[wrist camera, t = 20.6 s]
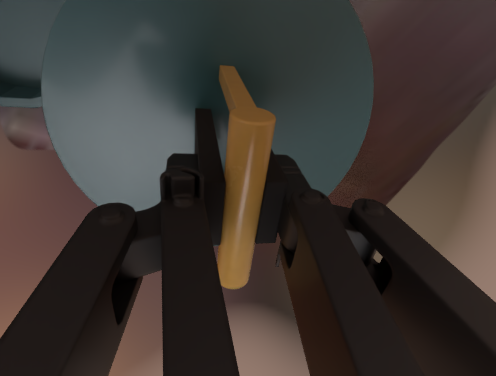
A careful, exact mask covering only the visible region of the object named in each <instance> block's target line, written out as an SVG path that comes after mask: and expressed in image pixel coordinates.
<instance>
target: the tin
mask: <svg viewBox="0 0 496 376" xmlns="http://www.w3.org/2000/svg"><path fill="white" fill-rule="evenodd" d="M64 1H65V0H0V106H5V107H24V108H38V107H42V101H41V71H42V62H43V54H44V50H45V47H46V43H47V40H48V36H49V32H50V29H51V27H52V25H53V23H54V21H55V19H56V16H57V14H58V12H59V10H60V8H61V6H62V4H63V3H64Z"/></svg>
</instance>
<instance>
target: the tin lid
mask: <svg viewBox="0 0 496 376" xmlns="http://www.w3.org/2000/svg"><path fill="white" fill-rule="evenodd" d="M373 86H374V79H373V68H372V59H371V55H370V50H369V46H368V42H367V38H366V35H365V33H364V30H363V28H362V25H361V22H360V20H359V17H358V15H357V14H356V12H355V10H354V8H353V7H352V5H351V3H350V1H349V0H65V1H64V3H63V4H62V6H61V8H60V10H59V12H58V14H57V16H56V19H55V21H54V23H53V25H52V27H51V29H50V32H49V36H48V40H47V43H46V47H45V50H44V54H43V62H42V71H41V101H42V108H43V113H44V118H45V123H46V127H47V130H48V133H49V136H50V139H51V141H52V144H53V147H54V149H55V151H56V153H57V155H58V157H59V159H60V161H61V163H62V165H63V166H64V168H65V169H66V171H67V172H68V174H69V175H70V177H71V178H72V179H73V181H74V182H75V184H76V185H78V187H79V188H80V189H81V190H82V191H83V193H84V194H85V195H86V196H87V197H88V198H89V199H90V200H91V201H93V202H94V203H95V204H96V205H97V206H100V205H103V204H107V203H119V202H120V203H124V204H128V205H130V206H131V207H133V208H134V210H135V212H136V211H141V210H145V209H148V208H151V207H153V206H155V205H157V204H158V203H159V202H160V201H161V195H160V176H161V174H162V173H163V172H165V171H166V165H167V159H168V158H169V157H170V156H171V155H172V154H173V153H186V154H195V108H203V109H211V112H212V117H213V122H214V127H215V132H216V137H217V142H218V147H219V152H220V157H221V162H222V167H223V172H224V177H225V182H226V185H225V197H224V209H223V220H222V232H221V244H220V245H213V246H219V247H218V261H217V267H218V272H219V277H220V282H221V285H222V286H223V287H225V288H228V289H238V288H241V287H243V286H244V285H245V284H246V283H247V282H248V279H249V274H250V268H251V262H252V257H253V250H254V245H255V239H256V234H257V228H258V222H259V216H260V210H261V205H262V199H263V193H264V187H265V181H266V176H267V170H268V164H269V158H270V152H271V149H272V151H273V153H274V154H281V155H288V156H289V157H291V158H292V159H294V160H295V162H296V163H297V165H298V167H299V168H300V170H301V172H302V174H303V175H304V177H305V178H306V180H307V182H308V183H309V185H310V187H311V188H312V189H315V190H318V191H320V192H322V193H323V194H325V195H326V196H328V195H329V194H330V193H331V192H332V191H333V190H334V189H335V187H336V186H337V185H338V184H339V183H340V181H341V180H342V179H343V177H344V176H345V174H346V173H347V172H348V170H349V169H350V167H351V165H352V163H353V162H354V160H355V158H356V156H357V154H358V152H359V150H360V147H361V145H362V143H363V140H364V138H365V135H366V131H367V128H368V124H369V121H370V116H371V110H372V104H373Z"/></svg>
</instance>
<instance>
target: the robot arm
mask: <svg viewBox="0 0 496 376" xmlns="http://www.w3.org/2000/svg"><path fill="white" fill-rule="evenodd" d="M225 185H226V182H225V177H224V172H223V167H222V162H221V157H220V152H219V147H218V142H217V137H216V132H215V127H214V122H213V117H212V112H211V109H203V108H195V154H186V153H173V154H172V155H171V156H170V157H169V158H168V159H167V165H166V171H165V172H163V173H162V174H161V176H160V195H161V201H160V202H159V203H158V204H157V205H155V206H153V207H151V208H148V209H145V210H141V211H136V212H135V210H134V208H133V207H131V206H130V205H128V204H124V203H120V202H119V203H107V204H103V205H100V206H98V207H96V208H94V209H93V210H92V211H91V212H90V213H88V214H87V216H86V217H85V219H84V220H83V221H82V223H81V224H80V226H79V227H78V229H77V230H76V232H75V233H74V235H73V236H72V237H71V238H70V240H69V241H68V243H67V244H66V246H65V247H64V249H63V250H62V251H61V253H60V254H59V256H58V257H57V258H56V260H55V261H54V263H53V264H52V266H51V267H50V269H49V270H48V271H47V273H46V274H45V276H44V277H43V279H42V280H41V281H40V283H39V284H38V286H37V287H36V288H35V290H34V291H33V293H32V294H31V295H30V297H29V298H28V300H27V302H26V303H25V304H24V305H23V307H22V308H21V310H20V311H19V313H18V314H17V315H16V317H15V318H14V320H13V321H12V323H11V324H10V325H9V327H8V328H7V330H6V331H5V333H4V334H3V335H2V337H1V338H0V376H108V375H109V372H110V369H111V366H112V363H113V361H114V358H115V355H116V352H117V350H118V346H119V344H120V341H121V338H122V335H123V333H124V330H125V327H126V324H127V321H128V319H129V316H130V313H131V310H132V308H133V305H134V302H135V299H136V296H137V294H138V291H139V288H140V285H141V283H142V279H143V276H144V275H148V274H151V273H154V272H157V271H160V270H162V323H163V376H239V371H238V366H237V361H236V356H235V351H234V346H233V341H232V336H231V331H230V327H229V321H228V317H227V312H226V307H225V302H224V297H223V292H222V287H221V282H220V277H219V272H218V267H217V262H216V258H215V253H214V248H213V245H220V244H221V232H222V220H223V209H224V197H225ZM277 233H279V236H280V239H281V242H280V246H279V250H278V255H277V259H276V267H278V266H279V262H280V260H281V262H282V266H283V270H284V274H285V278H286V282H287V286H288V290H289V294H290V297H291V301H292V306H293V310H294V314H295V318H296V321H297V326H298V330H299V334H300V338H301V341H302V345H303V349H304V353H305V357H306V361H307V365H308V369H309V373H310V376H496V302H494V301H493V300H492V299H491V298H490V297H489V296H487V294H485V293H484V292H483V291H482V290H481V289H480V288H479V287H477V286H476V285H475V284H474V283H473V282H472V281H471V280H470V279H468V278H467V277H466V276H465V275H464V274H463V273H462V272H460V271H459V270H458V269H457V268H456V267H455V266H454V265H452V264H451V263H450V262H449V261H448V260H447V259H446V258H445V257H443V256H442V255H441V254H440V253H439V252H438V251H437V250H435V249H434V248H433V247H432V246H431V245H430V244H428V242H426V241H425V240H424V239H423V238H422V237H421V236H420V235H418V234H417V233H416V232H415V231H414V230H413V229H412V228H410V227H409V226H408V225H407V224H406V223H405V222H404V221H403V220H401V219H400V218H399V217H398V216H397V215H396V214H395V213H393V212H392V211H391V210H390V209H389V208H388V207H386V206H385V205H383V204H382V203H380V202H378V201H376V200H373V199H372V200H371V199H358V200H355V201H354V203H353V205H352V207H351V208H347V207H341V206H336V205H333V204H331V202H330V200H329V199H328V197H327V196H326V195H325V194H323V193H322V192H320V191H318V190H315V189H312V188H311V187H310V185H309V183H308V182H307V180H306V178H305V177H304V175H303V174H302V172H301V170H300V168H299V167H298V165H297V163H296V162H295V160H294V159H292V158H291V157H289V156H288V155H281V154H274V153H273V151H272V149H271V152H270V158H269V164H268V170H267V176H266V181H265V187H264V193H263V199H262V205H261V210H260V216H259V222H258V228H257V234H256V239H255V243H256V244H258V243H275V242H276V237H277ZM376 251H378V252H379V253H380V254H381V255H382V256H383V258H382V260H381V262H380V263H378V262H376V261H375V260H374V259H373V257H374V255H375V253H376Z"/></svg>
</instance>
